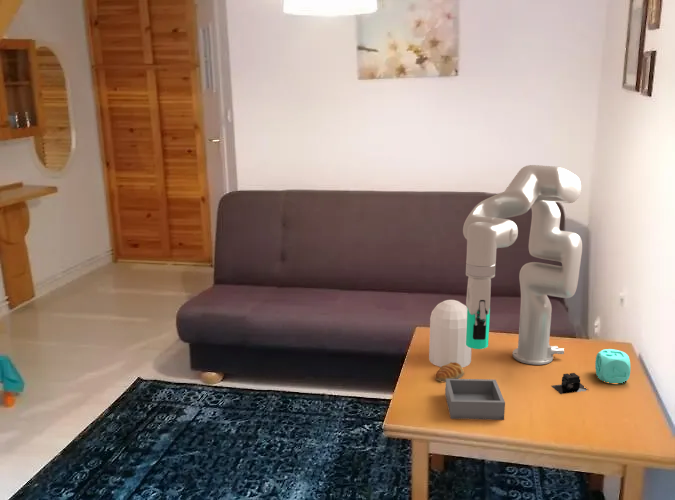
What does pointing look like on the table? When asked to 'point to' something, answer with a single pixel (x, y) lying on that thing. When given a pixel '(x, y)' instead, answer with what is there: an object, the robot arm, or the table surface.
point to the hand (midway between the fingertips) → (477, 334)
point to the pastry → (449, 372)
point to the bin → (474, 399)
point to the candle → (469, 333)
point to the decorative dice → (612, 366)
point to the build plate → (569, 384)
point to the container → (449, 334)
